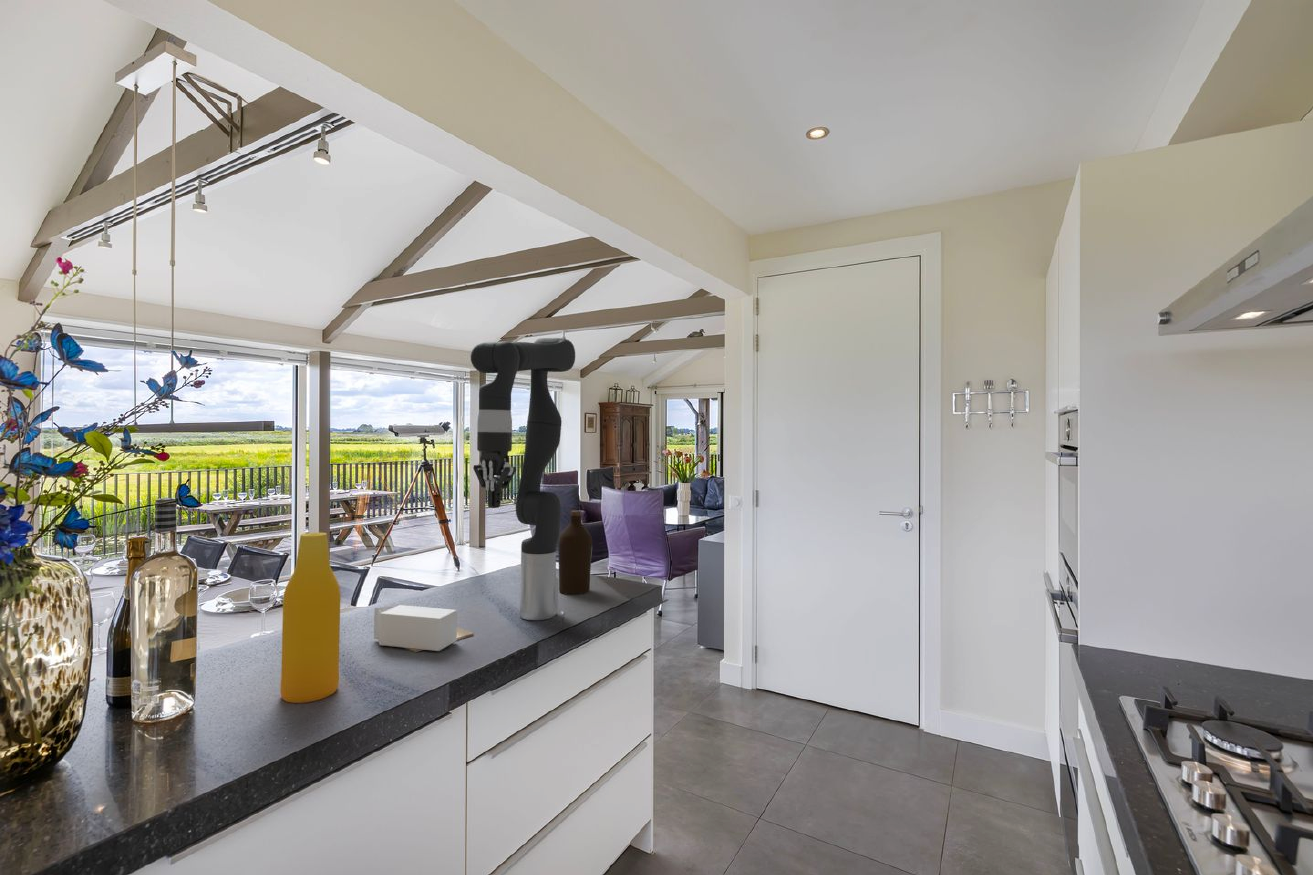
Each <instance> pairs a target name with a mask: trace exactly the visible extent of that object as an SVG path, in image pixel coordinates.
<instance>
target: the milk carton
mask: <svg viewBox="0 0 1313 875" xmlns="http://www.w3.org/2000/svg"><path fill="white" fill-rule="evenodd" d="M373 613H374V616H373V618H374V619H373V620H374V621H373V639H375V640H378V645H379V646H387V647H396V648H404V649H406V648H414V649H424V650H423V651H433V652H434V651H435V652H440V651H442V650H444V649H445V648H446V647H448V646H450V645H451V644H453V643H454V642H456V641H458V640H457V628H458V610H457V609H452V608H451V609H450V608H440V607H439V608H438V607H427V606H426V607H425V606H415V605H403V604H397V605H392V606H391V605H390V606H383V607H374V612H373Z"/></svg>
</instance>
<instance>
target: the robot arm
mask: <svg viewBox="0 0 1313 875" xmlns="http://www.w3.org/2000/svg"><path fill="white" fill-rule="evenodd" d="M470 362H471V364H472V366H473V368H474V369H475V370H476V371H478V372H479V373H481V374H496V375H495V376H496V377H495V378H494V380H493V381H491V382H489V383H484V384H482V385H481V386H479V389H478V414H477V422H476V424H477V429H476V430H477V431H476V432H477V433H476V435H477V436H476V437H477V438H476V440H477V441H476V443H477V444H476V450H477V451H478V452H481V453H480V454H481V455H480V457H479V458H480V459H479V461H480V462H479V463H478V464H474V465H473V471H474V473H475V475H476V477H477V480H478V482H479V485H480V486H481V488H485V490H486V491H487V507H488V508H491V509H497V508H500V507H501V498H502V497H501V492H502V491H503V490H504V489H508V487H509V485H510V483H511V481H512V480H513V477H514V476H515V474H516V473H517V467H516V466H511V464H510V463H509V462H510V457H509V452H511V451H512V450H513V446H512V445H513V442H512V441H513V440H512V439H513V418H512V392H513V388H514V384H515V383H514V382H515V380H516V376H517V373H518V372H524V371H530V391H529V392H530V395H529V403H528V404H529V406H528V413H527V414H528V415H527V422H526V428H525V429H526V430H525V443H524V451H523V453H524V455H523V461H522V469H521V474H520V480H519V485H518V488H517V489H518V490H517V494H516V499H515V500H516V501H515V517H516V518H517V520H518V521H519V522H520V523H521V524H523V525H529V526H535V529H534V530H535V531H534V534H533V536H530V537H529V538H525V539H524V540H522V541H521V546H520V548H521V549H520V592H519V599H520V600H519V617H520V618H521V619H523V620H527V621H542V620H543V621H544V620H549V619H553V618H554V616H556V615H557V614H559V577H557V576H556V575H557V547H558V540H559V536H560V529H561V515H562V514H561V512H562V509H561V508H562V507H561V500H560V498H559V496H558V495H557V494H556V493H555V492H553V491H543V490H541V486H542V485H541V484H542V478H543V475H544V472H545V470H546V468H547V466H548V464H549V462H550V461H551V460H552V458H553V457H554V455H555V454H556V452H557V450H558V448H559V446H560V442H561V441H560V440H561V435H562V434H561V433H562V432H561V431H562V417H561V415H560V412H559V409H558V407H557V406H556V403H555V401H554V399H553V398H552V396H551V392H550V390H549V384H548V373H554V372H555V373H563V372H568V371H570V370H571V369H572V368H573V367H574V364H575V362H576V349H575V345H574V344H573V343H572V341H571V340H569V339H566V338H562V337H546V338H545V337H543V338H541V337H540V338H537V339H535V340H534V342H527V341H507V340H506V341H504V340H503V341H482V342H479V343H477V344H476V345H474V347H473V349H472V350H471V353H470Z"/></svg>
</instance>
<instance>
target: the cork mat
mask: <svg viewBox="0 0 1313 875" xmlns="http://www.w3.org/2000/svg"><path fill="white" fill-rule="evenodd" d="M474 635H475V634H474V632H471V631H469V630H465V629H463V628H459V627H457V640H456V641H458V640H462V639H465V638H466V639H467V638H470V637H472V636H474ZM405 649H406V650H408V651H411V652H413V653H417V652H421V651H425V650H424V649H414V648H405Z"/></svg>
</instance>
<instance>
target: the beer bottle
mask: <svg viewBox="0 0 1313 875" xmlns="http://www.w3.org/2000/svg"><path fill="white" fill-rule="evenodd" d="M330 562H331V561H330V553H329V541H328V533H326V532H309V533H308V532H307V533H302V534H300V538H299V543H298V548H297V558H296V563H295V569H294V571H293V573H292V575H291V577H290V578H289V580H288V582H287V584H286V586H285V588H284V593H283V598H282V625H281V626H282V629H281V632H282V633H281V634H282V635H281V637H282V639H281V667H280V668H281V670H280V671H281V673H280V675H281V676H280V691H279V692H280V696H281V698H282V700H283V701H285V702H287V703H293V704H304V703H311V702H317V701H319V700H322V699H325V698H328V697H330V696H331V695H333V694H334V693H336V692H337V690H338V687H339V683H340V638H341V637H340V633H341V631H340V629H341V627H340V626H341V601H342V600H341V597H342V596H341V594H342V593H341V588H340V584H339V581H338V579H337V577H336V575H335V573H334V571H333V569H332V568H331V563H330Z"/></svg>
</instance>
